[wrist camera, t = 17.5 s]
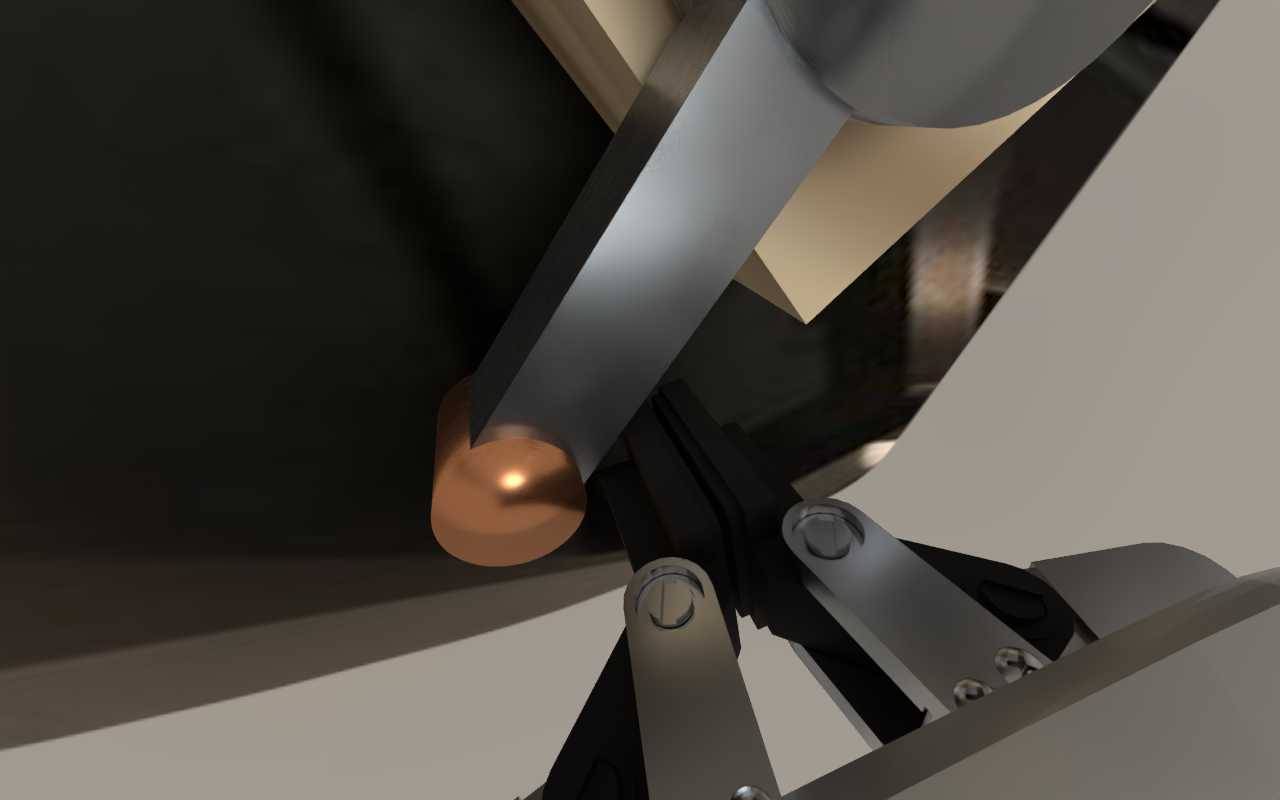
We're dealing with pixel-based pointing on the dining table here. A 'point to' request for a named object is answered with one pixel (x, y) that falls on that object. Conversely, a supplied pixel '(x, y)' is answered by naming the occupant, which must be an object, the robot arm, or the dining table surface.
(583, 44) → the block
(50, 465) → the dining table surface
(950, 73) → the grey crank lever
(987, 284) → the dining table surface
